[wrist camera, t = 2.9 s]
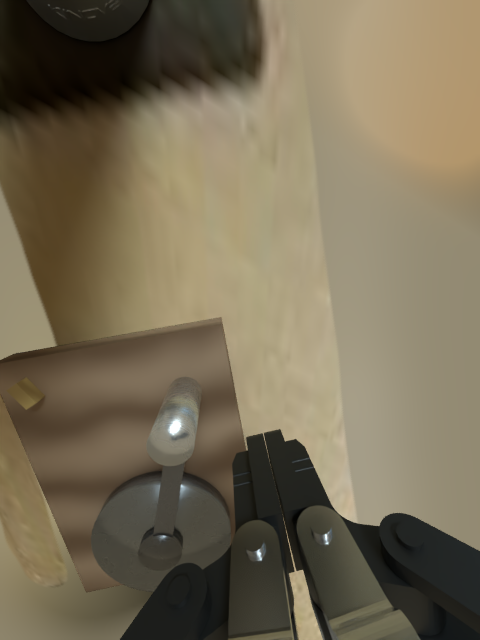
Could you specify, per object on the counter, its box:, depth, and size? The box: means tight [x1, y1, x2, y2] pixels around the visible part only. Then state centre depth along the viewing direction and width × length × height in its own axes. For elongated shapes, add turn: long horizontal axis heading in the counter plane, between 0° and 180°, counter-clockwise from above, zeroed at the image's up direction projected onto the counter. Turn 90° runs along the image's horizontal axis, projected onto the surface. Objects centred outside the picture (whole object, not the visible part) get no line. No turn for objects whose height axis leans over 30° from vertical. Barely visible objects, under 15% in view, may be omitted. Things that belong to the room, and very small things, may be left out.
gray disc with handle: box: [91, 377, 231, 592], centre depth 19 cm, size 22×12×8 cm, turn 169°
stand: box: [0, 317, 246, 592], centre depth 23 cm, size 24×18×4 cm
